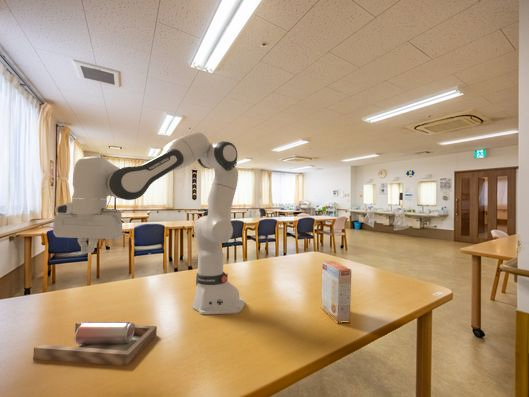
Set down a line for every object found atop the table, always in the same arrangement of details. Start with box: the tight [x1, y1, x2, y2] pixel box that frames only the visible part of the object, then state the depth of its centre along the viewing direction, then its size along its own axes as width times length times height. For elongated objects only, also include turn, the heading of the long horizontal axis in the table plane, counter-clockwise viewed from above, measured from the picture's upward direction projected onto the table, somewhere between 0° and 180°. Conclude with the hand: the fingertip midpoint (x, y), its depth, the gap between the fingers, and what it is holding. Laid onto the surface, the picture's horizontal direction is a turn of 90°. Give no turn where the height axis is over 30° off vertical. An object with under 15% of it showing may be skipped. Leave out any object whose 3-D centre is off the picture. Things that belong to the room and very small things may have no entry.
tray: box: [32, 320, 158, 367], centre depth 72 cm, size 28×15×3 cm, turn 86°
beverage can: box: [74, 321, 136, 345], centre depth 73 cm, size 6×6×15 cm
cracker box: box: [321, 260, 352, 322], centre depth 98 cm, size 14×6×21 cm, turn 12°
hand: (87, 252), depth 73 cm, fingers closed
